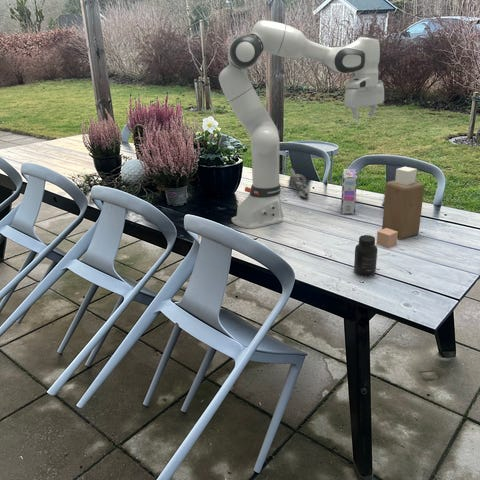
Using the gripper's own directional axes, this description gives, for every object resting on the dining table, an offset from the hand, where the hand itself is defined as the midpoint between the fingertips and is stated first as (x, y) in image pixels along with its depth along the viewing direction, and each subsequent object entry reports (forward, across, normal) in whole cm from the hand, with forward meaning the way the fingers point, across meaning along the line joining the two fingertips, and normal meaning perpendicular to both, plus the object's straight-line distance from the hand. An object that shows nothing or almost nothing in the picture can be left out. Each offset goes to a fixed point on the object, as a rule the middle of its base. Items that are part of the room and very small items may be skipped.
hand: (363, 117), depth 188 cm
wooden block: (+39, +9, +28) cm, 49 cm away
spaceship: (+39, -1, -39) cm, 55 cm away
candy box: (+39, +3, -3) cm, 40 cm away
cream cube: (+19, +9, +28) cm, 35 cm away
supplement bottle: (+39, +44, +40) cm, 71 cm away
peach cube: (+39, +21, +31) cm, 54 cm away
